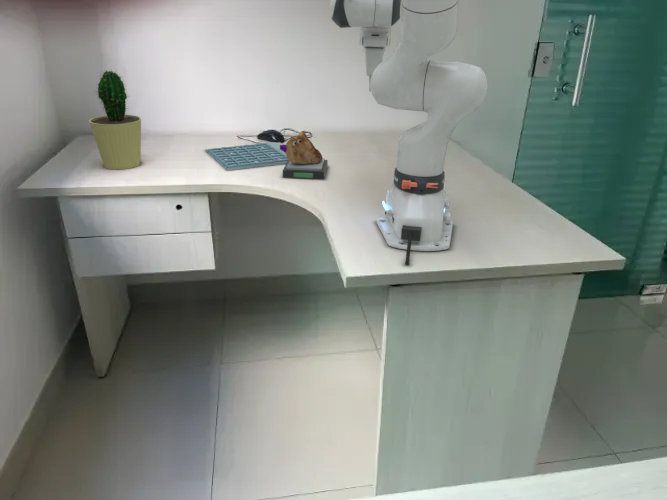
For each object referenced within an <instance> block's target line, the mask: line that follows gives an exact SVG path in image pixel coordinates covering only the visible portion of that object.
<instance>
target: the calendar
mask: <svg viewBox="0 0 667 500" xmlns="http://www.w3.org/2000/svg"><path fill="white" fill-rule="evenodd" d="M286 150H287V146H286V144H284V143H283V142H280V141H278V142H275V141H271V142H264V143H254V144H244V145H234V146H222V147H213V148H205V151H206V152H207V153H208V154H209V155H210V156H211V157H212V158H213V159H214V160H215V161H216V162H217V163H219V164H220V165H221V166H222V168H224V169H225V170H226V171H235V170H244V169H252V168H253V169H254V168H262V167H269V166H270V167H271V166H277V165H278V166H279V165H286V163H287V161H288V160H289V159H288V158H287V156H286Z"/></svg>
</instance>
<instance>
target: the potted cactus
mask: <svg viewBox="0 0 667 500" xmlns="http://www.w3.org/2000/svg"><path fill="white" fill-rule="evenodd" d="M100 73H102V74H100V75H98V76H99V77H100V78H99V82H98V83H97V84H95V85H97V90H94V91H93V93H96V97H97V99H98V100H101V101H100V103H99V104H100V105H102V106H103V108H102V111H105V112H104V113H105V115H101V116H96V117H92V118H90V119H89V120H88V122H89V123H90V124H89V125H90V128H91V130H92V134H93V137H94V140H95V143H96V146H97V149H98V152H99V155H100V158H101V161H102V164H103V166H104V168H105V169H109V170H126V169H128V170H129V169H132V168H136V167H138V166H140V165H141V160H142V159H141V156H142V155H141V154H142V153H141V152H142V151H141V149H142V147H141V146H142V118H141V117H140V116H139V115H133V114H127V113H126V111H129V109H128V110H127V108H129V106H127V101H128V99H129V98H130V97H131V95H129V93H128V91H127V89H126V87H127V86H126V84H125V83H124V80H122V75H121V73H120V74H119V73H117V72H116V71H112V68H111V69H110V70H104V71H102V70H101V72H100ZM127 93H128V94H127ZM126 100H127V101H126Z"/></svg>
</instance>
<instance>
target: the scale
mask: <svg viewBox="0 0 667 500" xmlns="http://www.w3.org/2000/svg"><path fill="white" fill-rule="evenodd" d="M322 158H323V159H322V162H321V163H308V164H297V163H292V162H290V161H289V160H288V161H287V163H286V164H284V167H283V169H282V178H284V179H304V180H305V179H307V180H325V177H326V174H327V170H328V166H329V164H328V163H329V161H328V159H325V158H324V157H322Z"/></svg>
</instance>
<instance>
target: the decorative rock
mask: <svg viewBox="0 0 667 500" xmlns="http://www.w3.org/2000/svg"><path fill="white" fill-rule="evenodd" d="M285 145H286V146H287V150H286V156H287V158H288V159H289V161H290V162H292V163H297V164H308V163H321V162H322V159H323V158H324V157H323V154H322V153H321V152H320V151H319V149H317V148H316V147H315V146H314V144H313V142H312V141H311V140H310V139H309V138H308V136H307V134H306V132H305V131H304V130H302V131H300V132H299V133H298V134H297V135H295V136H291V138H289V139H288V140H287V142H286V143H285Z"/></svg>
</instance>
